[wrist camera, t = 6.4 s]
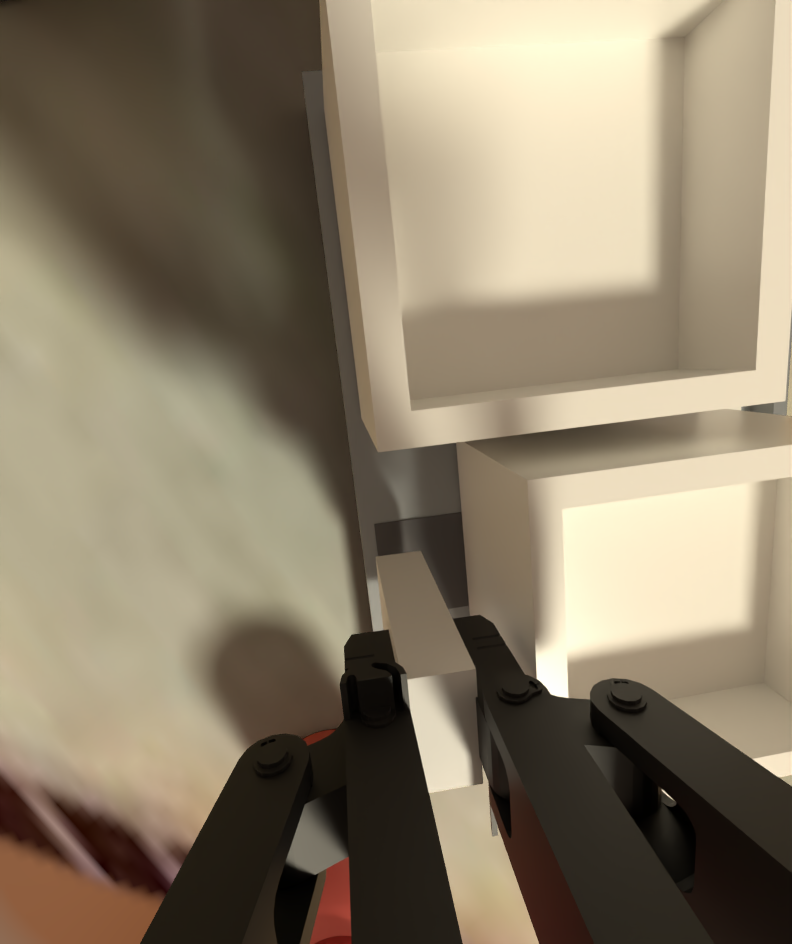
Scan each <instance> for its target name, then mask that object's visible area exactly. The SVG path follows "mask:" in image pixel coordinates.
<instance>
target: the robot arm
mask: <svg viewBox="0 0 792 944" xmlns="http://www.w3.org/2000/svg"><path fill="white" fill-rule="evenodd" d="M3 1H7V0H0V2H3ZM376 566H377V575H378V584H379V594H380V603H381V613H382V622H383V630H381V631H374V632H367V633H360V634H353V635H351V636H350V638H349V640H348V641H347V643H346V644H345V646H344V656H345V673H344V674H343V675H342V678H341V681H340V690H341V698H342V706H343V714H344V720H343V722H342V724H341V725H340V726H339V727H338V728H337V729H336V730H335V731H334V732H333V733H331V734H330V735H329V736H327V737H325V738H323V739H321V740H320V741H317V742H315V743H313V744H310V745H308V746H307V743H306V741H304V740H303V739H301V738H300V737H298V736H295V735H290V734H280V735H272V736H269V737H267V738H265V739H262V740H260V741H258V742H256V743H255V744H254V745H252V746H251V747H249V748H248V749H247V750H246V751H245V752H244V754H243V755H242V756H241V758H240V759H239V760H238V762H237V764H236V766H235V768H234V770H233V771H232V773H231V775H230V777H229V779H228V781H227V783H226V784H225V786H224V788H223V790H222V792H221V794H220V796H219V798H218V799H217V801H216V803H215V805H214V807H213V809H212V811H211V812H210V814H209V816H208V818H207V820H206V822H205V824H204V825H203V827H202V829H201V831H200V833H199V835H198V837H197V838H196V840H195V842H194V844H193V846H192V848H191V850H190V851H189V853H188V855H187V857H186V859H185V861H184V863H183V865H182V866H181V868H180V870H179V872H178V874H177V876H176V878H175V879H174V881H173V883H172V885H171V887H170V889H169V891H168V892H167V894H166V896H165V898H164V900H163V902H162V904H161V905H160V907H159V909H158V911H157V913H156V915H155V917H154V919H153V921H152V922H151V924H150V926H149V928H148V930H147V932H146V934H145V935H144V937H143V939H142V941H141V943H140V944H310V940H311V936H312V932H313V928H314V924H315V920H316V916H317V912H318V908H319V904H320V900H321V896H322V892H323V888H324V884H325V880H326V870H327V868H329V867H331V866H332V865H334V864H336V863H338V862H340V861H342V860H343V859H345V858H347V857H349V881H350V912H351V944H463V943H462V939H461V934H460V930H459V925H458V921H457V917H456V912H455V908H454V903H453V899H452V894H451V890H450V885H449V881H448V876H447V872H446V867H445V863H444V858H443V854H442V850H441V845H440V841H439V836H438V832H437V827H436V823H435V818H434V814H433V809H432V805H431V800H430V796H429V793H432V792H438V791H444V790H449V789H455V788H460V787H466V786H472V785H477V784H483V775H482V765H483V768H484V771H485V773H486V776H487V779H488V782H489V799H490V816H491V829H492V836H497V835H498V832H497V825H498V828H499V831H500V833H501V836H502V839H503V842H504V845H505V848H506V851H507V853H508V856H509V859H510V862H511V865H512V868H513V870H514V873H515V876H516V879H517V882H518V885H519V887H520V890H521V893H522V896H523V899H524V902H525V904H526V907H527V910H528V913H529V916H530V919H531V921H532V924H533V927H534V930H535V933H536V936H537V938H538V941H539V944H792V786H790V785H789V784H787V783H786V782H784V781H783V780H782V779H780V778H779V777H777V776H776V775H774V774H773V773H772V772H770V771H769V770H767V769H766V768H764V767H763V766H761V765H760V764H759V763H757V762H756V761H754V760H753V759H751V758H750V757H749V756H747V755H746V754H744V753H743V752H741V751H740V750H739V749H737V748H736V747H734V746H733V745H731V744H730V743H729V742H727V741H726V740H724V739H723V738H721V737H720V736H719V735H717V734H716V733H714V732H713V731H711V730H710V729H708V728H707V727H706V726H704V725H703V724H701V723H700V722H698V721H697V720H696V719H694V718H693V717H691V716H690V715H688V714H687V713H686V712H684V711H683V710H681V709H680V708H678V707H677V706H676V705H674V704H673V703H671V702H670V701H668V700H667V699H666V698H664V697H663V696H661V695H660V694H658V693H657V692H656V691H654V690H653V689H651V688H649V687H647V686H645V685H643V684H641V683H639V682H635V681H632V680H628V679H618V678H611V679H606V680H601V681H600V682H598V683H597V684H595V685H593V687H592V689H591V691H590V699H577V698H565V697H558V696H555V695H551V694H550V692H549V691H548V689H547V688H546V687H545V686H544V685H543V684H542V683H541V682H540V681H539V680H537V679H535V678H533V677H531V676H529V675H525V674H524V672H523V670H522V669H521V667H520V666H519V664H518V662H517V661H516V659H515V657H514V656H513V654H512V653H511V651H510V649H509V648H508V646H507V645H506V643H505V641H504V640H503V638H502V636H500V633H499V632H498V630H497V628H496V627H495V625H494V623H492V622H491V621H489V620H488V619H486V618H484V617H483V616H481V615H474V616H467V617H460V618H454V619H452V617H451V615H450V612H449V610H448V608H447V606H446V604H445V602H444V600H443V597H442V595H441V593H440V591H439V589H438V587H437V585H436V582H435V580H434V578H433V576H432V574H431V572H430V570H429V567H428V565H427V563H426V561H425V559H424V557H423V555H422V553H421V551H415V552H407V553H400V554H392V555H385V556H377V557H376ZM662 790H663V791H665V792H666V793H667V794H668V795H669V796H670V797H671V798H672V799H671V798H670V797H669V796H667V795H666V794H665V793H664V792H663V791H662ZM674 800H675V801H676V802H675V801H674Z"/></svg>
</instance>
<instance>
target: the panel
mask: <svg viewBox="0 0 792 944" xmlns="http://www.w3.org/2000/svg"><path fill="white" fill-rule="evenodd" d="M302 79H303V88H304V97H305V106H306V114H307V121H308V129H309V137H310V145H311V153H312V160H313V168H314V176H315V184H316V192H317V199H318V207H319V215H320V223H321V231H322V238H323V246H324V254H325V262H326V270H327V277H328V285H329V293H330V301H331V309H332V316H333V324H334V332H335V340H336V348H337V355H338V363H339V371H340V379H341V387H342V394H343V402H344V410H345V418H346V426H347V433H348V441H349V449H350V457H351V465H352V472H353V480H354V488H355V496H356V504H357V511H358V519H359V527H360V535H361V543H362V550H363V558H364V566H365V574H366V582H367V589H368V597H369V605H370V613H371V621H372V628H373V632H374V631H381V630H383V622H382V613H381V603H380V594H379V584H378V575H377V566H376V557H377V556H385V555H392V554H400V553H407V552H415V551H421V553H422V555H423V557H424V559H425V561H426V563H427V565H428V567H429V570H430V572H431V574H432V576H433V578H434V580H435V582H436V585H437V587H438V589H439V591H440V593H441V595H442V597H443V600H444V602H445V604H446V606H447V608H448V610H449V612H450V615H451V617H452V619H454V618H460V617H467V616H470V611H469V599H468V586H467V574H466V561H465V548H464V536H463V523H462V511H461V498H460V486H459V473H458V461H457V448H456V443H449V444H441V445H433V446H425V447H417V448H409V449H401V450H393V451H385V452H378V451H377V449H376V447H375V445H374V443H373V441H372V439H371V437H370V435H369V433H368V431H367V429H366V427H365V425H364V423H363V420H362V418H361V410H360V402H359V394H358V386H357V377H356V369H355V361H354V352H353V344H352V336H351V328H350V319H349V311H348V303H347V295H346V286H345V278H344V270H343V262H342V253H341V245H340V237H339V229H338V220H337V212H336V204H335V196H334V187H333V179H332V171H331V163H330V154H329V146H328V138H327V130H326V121H325V113H324V98H323V75H322V70H318V71H302ZM791 342H792V312H791V326H790V341H789V356H788V371H787V385H786V400H785V401H783V402H775V403H767V404H759V405H751V406H743V407H735V408H727V409H733V410H741V411H750V412H759V413H768V414H776V415H785V416H786V415H787V400H788V386H789V371H790V357H791Z"/></svg>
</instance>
